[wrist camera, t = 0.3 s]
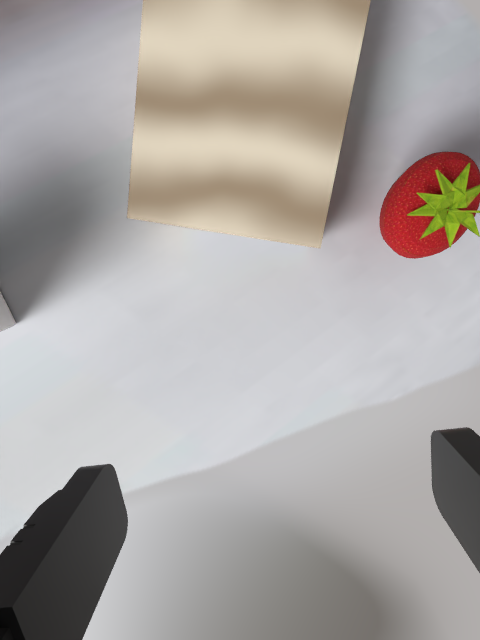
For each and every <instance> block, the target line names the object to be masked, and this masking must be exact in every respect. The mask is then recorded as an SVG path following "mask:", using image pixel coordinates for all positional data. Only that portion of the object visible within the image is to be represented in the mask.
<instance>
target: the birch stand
mask: <svg viewBox="0 0 480 640" xmlns="http://www.w3.org/2000/svg"><path fill="white" fill-rule="evenodd" d="M370 2H371V0H143V9H142V22H141V36H140V49H139V63H138V77H137V90H136V104H135V117H134V131H133V144H132V158H131V172H130V185H129V199H128V212H127V218H130V219H137V220H143V221H149V222H156V223H162V224H168V225H175V226H181V227H187V228H194V229H200V230H206V231H213V232H219V233H225V234H232V235H238V236H245V237H251V238H257V239H264V240H270V241H276V242H283V243H289V244H295V245H302V246H308V247H314V248H321V243H322V238H323V233H324V228H325V223H326V218H327V213H328V208H329V203H330V198H331V193H332V189H333V184H334V179H335V174H336V169H337V164H338V159H339V154H340V149H341V144H342V139H343V134H344V130H345V125H346V120H347V115H348V110H349V105H350V100H351V95H352V90H353V85H354V80H355V75H356V70H357V66H358V61H359V56H360V51H361V46H362V41H363V36H364V31H365V26H366V21H367V16H368V11H369V7H370Z"/></svg>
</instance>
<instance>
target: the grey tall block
mask: <svg viewBox="0 0 480 640" xmlns="http://www.w3.org/2000/svg"><path fill="white" fill-rule="evenodd" d="M15 324H16V322H15V320H14V318H13V316H12V314H11V312H10V310H9V308H8V306H7V304H6V302H5V300H4V298H3V296H2V294H1V292H0V332H1V331H3V330H5V329H8V328H10V327H12V326H14V325H15Z"/></svg>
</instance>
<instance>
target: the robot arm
mask: <svg viewBox="0 0 480 640" xmlns="http://www.w3.org/2000/svg"><path fill="white" fill-rule="evenodd" d="M431 462H432V489H433V493H434V498H435V501H436V504H437V506H438V509H439V510H440V513H441V514H442V516H443V518H444V519H445V521H446V522H447V524H448V525H449V527H450V528H451V530H452V531H453V533H454V535H455V536H456V538H457V539H458V540H459V542H460V544H461V545H462V547H463V548H464V550H465V551H466V553H467V554H468V556H469V558H470V559H471V560H472V562H473V564H474V565H475V567H476V568H477V570H478V571H479V573H480V436H479V435H477V434H476V433H475V432H474V431H473V430H472V429H470V428H467V427H466V428H457V429H447V430H437V431H433V433H432V435H431ZM127 526H128V517H127V511H126V508H125V504H124V500H123V497H122V493H121V489H120V486H119V482H118V478H117V474H116V471H115V469H114V467H113V466H112V465H111V464H105V465H95V466H86V467H80V468H79V469H78V470H77V471H76V472H75V473H74V475H73V476H72V477H71V479H70V480H69V481H68V483H67V484H66V485H65V487H64V488H63V489H62V490H58V491H57V492H56V493H55V494H53V495H52V496H51V497H50V498H49V499H47V500H46V501H45V502H44V503H42V504H41V505H40V506H39V507H38V508H37V509H36V510H35V512H34V513H33V514H32V515H31V517H30V518H29V519H28V520H27V522H26V523H25V524H24V528H23V529H20V530H19V532H18V533H17V534H16V535H15V537H14V538H13V539H12V541H11V544H10V546H7V547H6V548H5V549H4V551H3V552H2V553H1V554H0V640H82V639H83V636H84V634H85V632H86V629H87V627H88V625H89V622H90V620H91V618H92V615H93V613H94V611H95V608H96V606H97V604H98V601H99V599H100V597H101V594H102V592H103V590H104V587H105V585H106V583H107V580H108V578H109V576H110V574H111V571H112V569H113V567H114V564H115V562H116V559H117V557H118V555H119V553H120V550H121V548H122V546H123V543H124V541H125V538H126V533H127Z"/></svg>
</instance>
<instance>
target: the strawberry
mask: <svg viewBox="0 0 480 640" xmlns="http://www.w3.org/2000/svg"><path fill="white" fill-rule="evenodd" d="M479 203H480V172H479V169H478V167H477V165H476V164H475V162H474V161H473V160H472V159H471V158H469V157H468V156H466V155H464V154H462V153H457V152H439V153H433V154H431V155H428V156H425V157H424V158H422V159H420V160H418V161H417V162H415V163H414V164H413V165H412V166H411V167H409V168H408V169H407V170H406V171H405V172H404V173H403V174H402V175H401V176H400V177H399V178H398V180H397V181H396V182H395V183H394V184H393V185H392V187H391V188H390V190H389V191H388V193H387V195H386V197H385V199H384V202H383V205H382V208H381V213H380V230H381V234H382V236H383V239H384V240H385V242H386V243H387V244H388V245H389V246H390V247H391V248H392V249H393V250H394V251H395V252H396V253H398V254H399V255H401V256H403V257H406V258H422V257H427V256H431V255H434V254H437V253H440V252H442V251H443V250H445V249H447V248H449V247H451V245H452V244H454V243H455V242H456V241H457V240H458V239H459V238H460V237H461V236H462V235H463V234H464V232H465V231H466V230H467V228H468V229H469V230H470V231H472V232H473V233H475V234H476V235H477V236H479V237H480V235H479V232H478V229H477V226H476V222H475V219H474V217H475V214H476V213H480V211H477V209H478V207H479Z"/></svg>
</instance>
